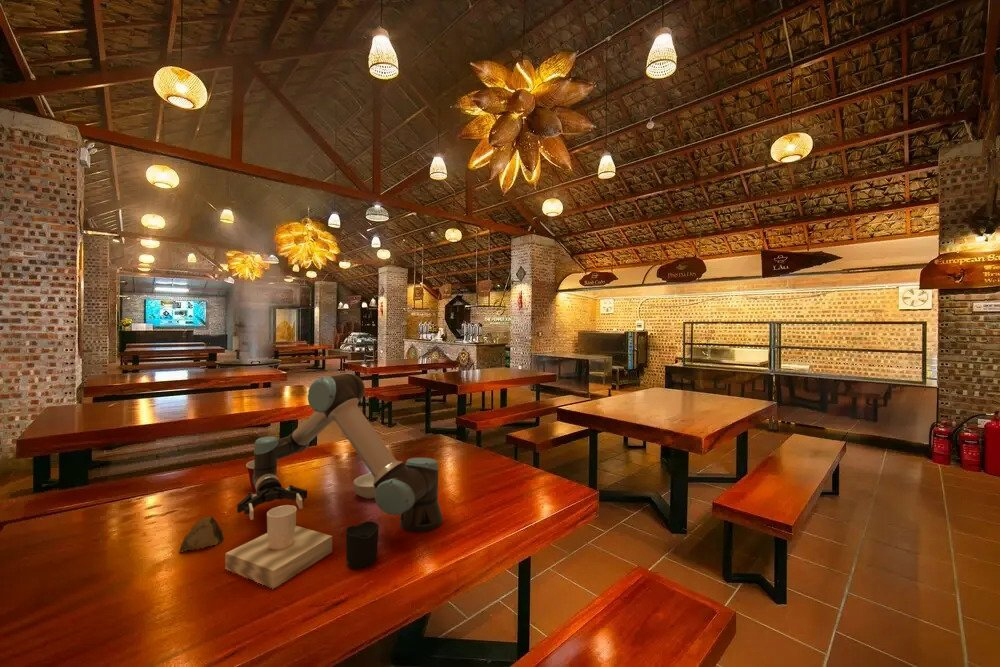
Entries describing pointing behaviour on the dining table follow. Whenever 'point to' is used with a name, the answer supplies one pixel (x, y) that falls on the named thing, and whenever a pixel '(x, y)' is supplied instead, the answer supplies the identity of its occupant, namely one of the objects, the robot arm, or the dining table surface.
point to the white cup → (281, 526)
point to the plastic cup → (251, 474)
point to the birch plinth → (278, 557)
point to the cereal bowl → (365, 486)
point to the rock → (202, 535)
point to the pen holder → (362, 545)
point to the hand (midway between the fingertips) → (277, 509)
